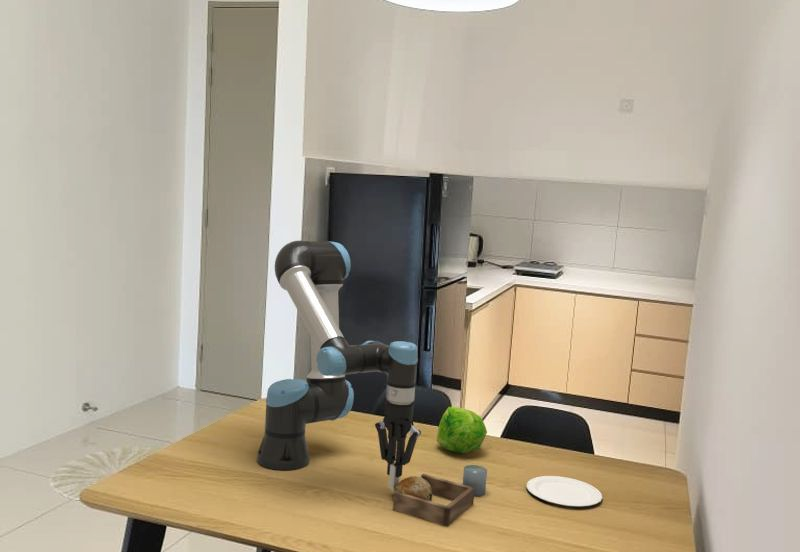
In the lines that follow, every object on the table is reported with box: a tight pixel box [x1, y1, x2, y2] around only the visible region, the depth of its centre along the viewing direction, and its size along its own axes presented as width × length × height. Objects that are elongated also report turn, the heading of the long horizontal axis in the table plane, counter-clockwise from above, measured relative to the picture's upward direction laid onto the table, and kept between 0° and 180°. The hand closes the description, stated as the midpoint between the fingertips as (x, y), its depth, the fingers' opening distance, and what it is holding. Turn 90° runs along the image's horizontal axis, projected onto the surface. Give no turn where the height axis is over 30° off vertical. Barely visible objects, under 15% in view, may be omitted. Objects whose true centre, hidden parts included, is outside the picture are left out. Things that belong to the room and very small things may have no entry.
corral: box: [392, 473, 475, 527], centre depth 185 cm, size 15×16×4 cm
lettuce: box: [436, 406, 488, 455], centre depth 230 cm, size 15×20×14 cm
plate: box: [526, 475, 603, 508], centre depth 200 cm, size 21×21×2 cm
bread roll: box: [392, 475, 433, 502], centre depth 188 cm, size 10×10×8 cm
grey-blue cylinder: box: [462, 464, 488, 498], centre depth 197 cm, size 6×6×6 cm
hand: (393, 487), depth 190 cm, fingers closed
